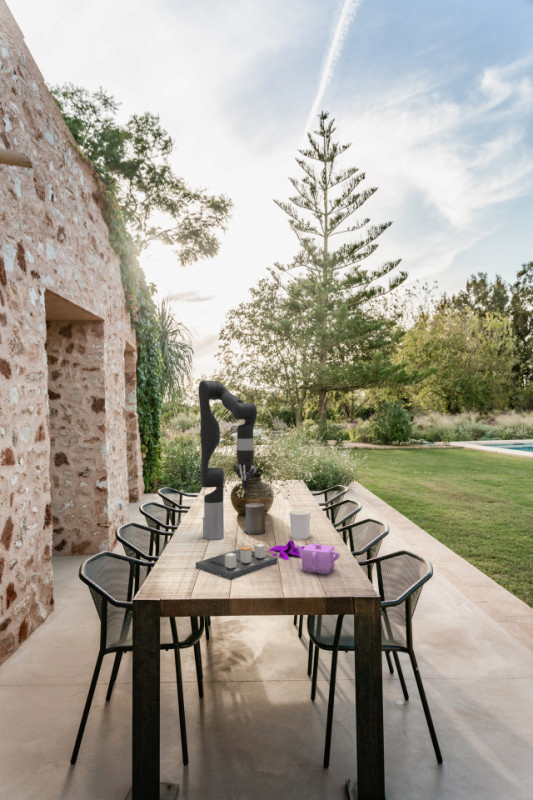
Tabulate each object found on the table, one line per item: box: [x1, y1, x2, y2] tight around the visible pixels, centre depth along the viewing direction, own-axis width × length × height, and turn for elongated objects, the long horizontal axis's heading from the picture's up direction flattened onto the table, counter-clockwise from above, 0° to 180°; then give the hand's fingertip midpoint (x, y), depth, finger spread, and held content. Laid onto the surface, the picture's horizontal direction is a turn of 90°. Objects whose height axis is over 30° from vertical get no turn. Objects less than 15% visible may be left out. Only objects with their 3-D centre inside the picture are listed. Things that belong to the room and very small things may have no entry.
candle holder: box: [289, 509, 311, 540], centre depth 229 cm, size 10×10×12 cm
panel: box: [195, 548, 278, 580], centre depth 189 cm, size 20×25×2 cm
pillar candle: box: [244, 501, 266, 535], centre depth 240 cm, size 10×10×15 cm
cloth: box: [268, 539, 306, 561], centre depth 204 cm, size 22×19×6 cm
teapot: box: [294, 543, 340, 576], centre depth 183 cm, size 18×14×10 cm
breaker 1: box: [224, 552, 236, 569], centre depth 180 cm, size 3×3×4 cm
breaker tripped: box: [239, 546, 252, 563], centre depth 186 cm, size 3×3×5 cm
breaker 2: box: [254, 543, 267, 558], centre depth 192 cm, size 3×3×4 cm
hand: (245, 488), depth 210 cm, fingers closed
